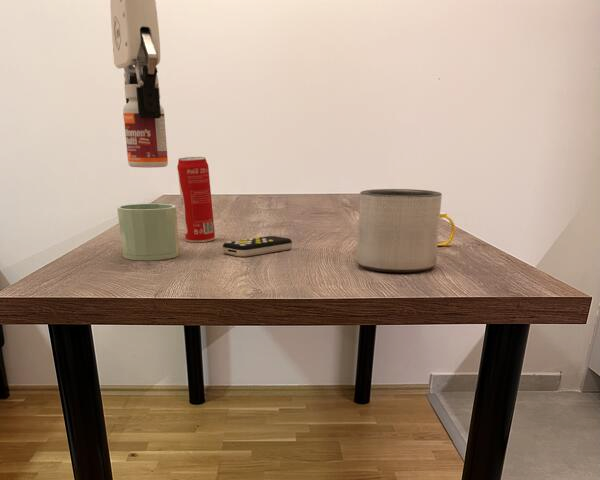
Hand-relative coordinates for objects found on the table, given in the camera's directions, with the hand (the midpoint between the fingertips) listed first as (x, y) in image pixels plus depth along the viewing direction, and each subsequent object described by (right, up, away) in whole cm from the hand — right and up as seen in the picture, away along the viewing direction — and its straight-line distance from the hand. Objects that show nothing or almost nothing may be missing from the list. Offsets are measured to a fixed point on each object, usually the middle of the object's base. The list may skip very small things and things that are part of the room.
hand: (144, 117), depth 97 cm
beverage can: (+4, -11, +27) cm, 30 cm away
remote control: (+16, -16, +16) cm, 28 cm away
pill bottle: (0, -7, +3) cm, 7 cm away
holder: (-2, -18, +12) cm, 22 cm away
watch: (+50, -13, +22) cm, 56 cm away
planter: (+39, -22, +4) cm, 45 cm away
